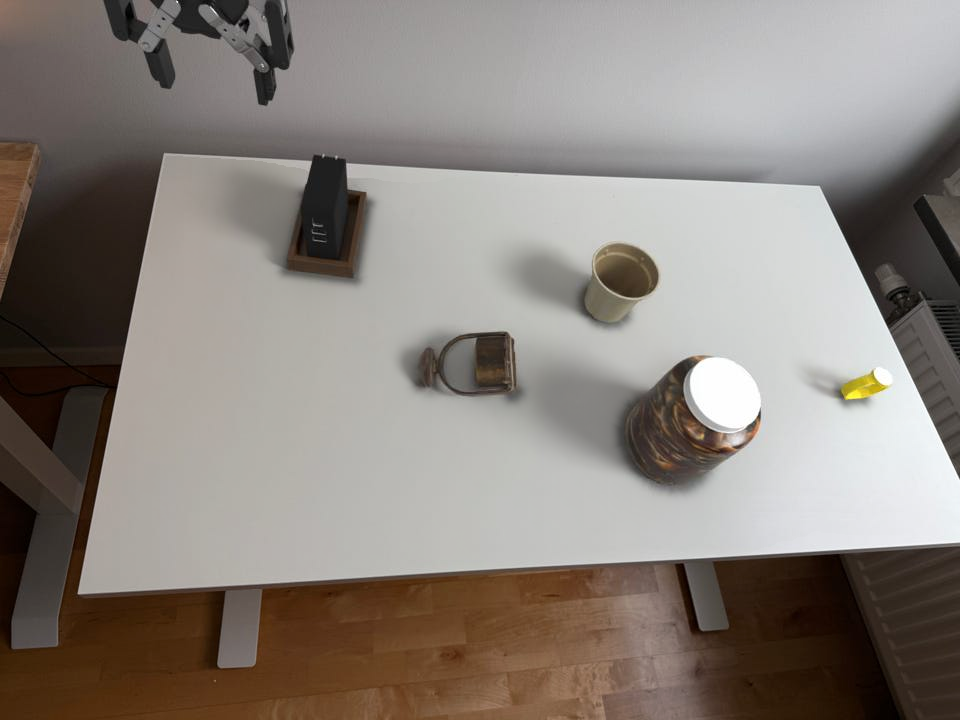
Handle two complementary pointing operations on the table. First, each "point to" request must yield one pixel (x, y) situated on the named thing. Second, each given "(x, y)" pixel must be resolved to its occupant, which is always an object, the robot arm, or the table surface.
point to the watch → (875, 380)
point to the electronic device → (325, 207)
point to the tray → (348, 249)
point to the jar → (693, 419)
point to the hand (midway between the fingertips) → (217, 91)
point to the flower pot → (620, 280)
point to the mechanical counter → (478, 363)
